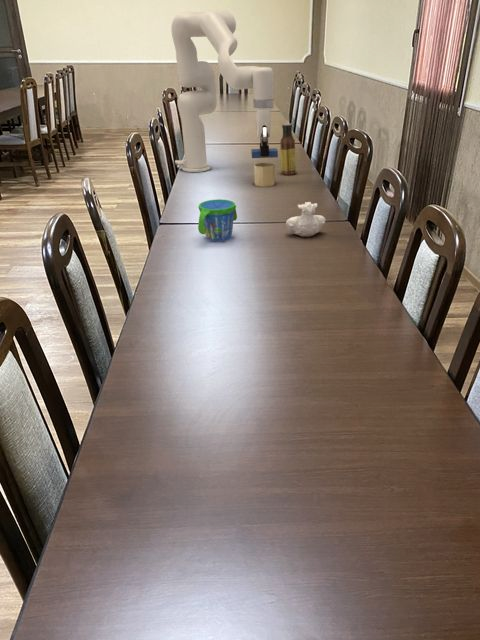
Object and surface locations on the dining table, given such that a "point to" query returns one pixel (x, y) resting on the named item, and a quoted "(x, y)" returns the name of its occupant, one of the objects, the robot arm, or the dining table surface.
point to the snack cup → (217, 219)
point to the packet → (257, 154)
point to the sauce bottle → (288, 151)
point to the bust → (305, 221)
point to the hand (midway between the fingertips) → (264, 154)
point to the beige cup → (264, 174)
